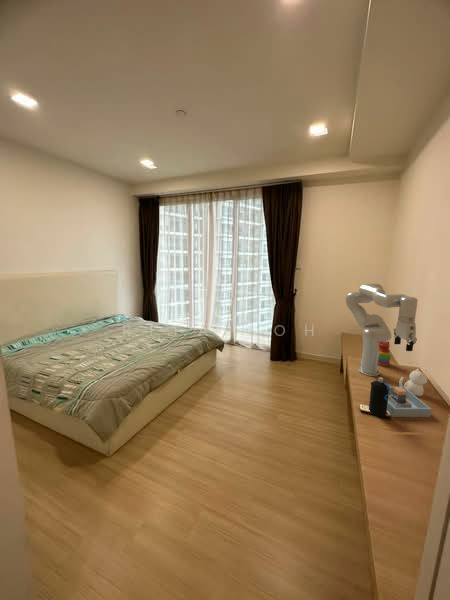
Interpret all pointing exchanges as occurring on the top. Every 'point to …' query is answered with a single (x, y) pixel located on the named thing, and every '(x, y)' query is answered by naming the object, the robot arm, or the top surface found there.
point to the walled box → (416, 411)
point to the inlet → (399, 405)
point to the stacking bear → (384, 354)
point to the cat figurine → (415, 382)
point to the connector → (399, 395)
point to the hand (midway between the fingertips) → (402, 347)
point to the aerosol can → (379, 397)
